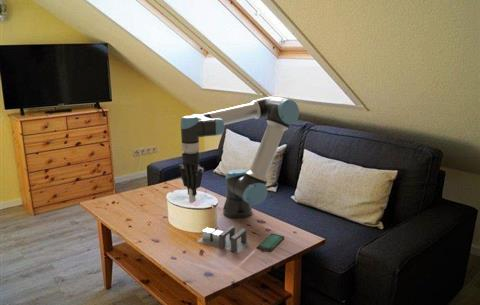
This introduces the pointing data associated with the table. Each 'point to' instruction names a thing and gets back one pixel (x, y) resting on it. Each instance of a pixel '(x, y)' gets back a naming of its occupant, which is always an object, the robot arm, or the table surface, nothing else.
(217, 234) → the grey block
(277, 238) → the smartphone
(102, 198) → the table surface
